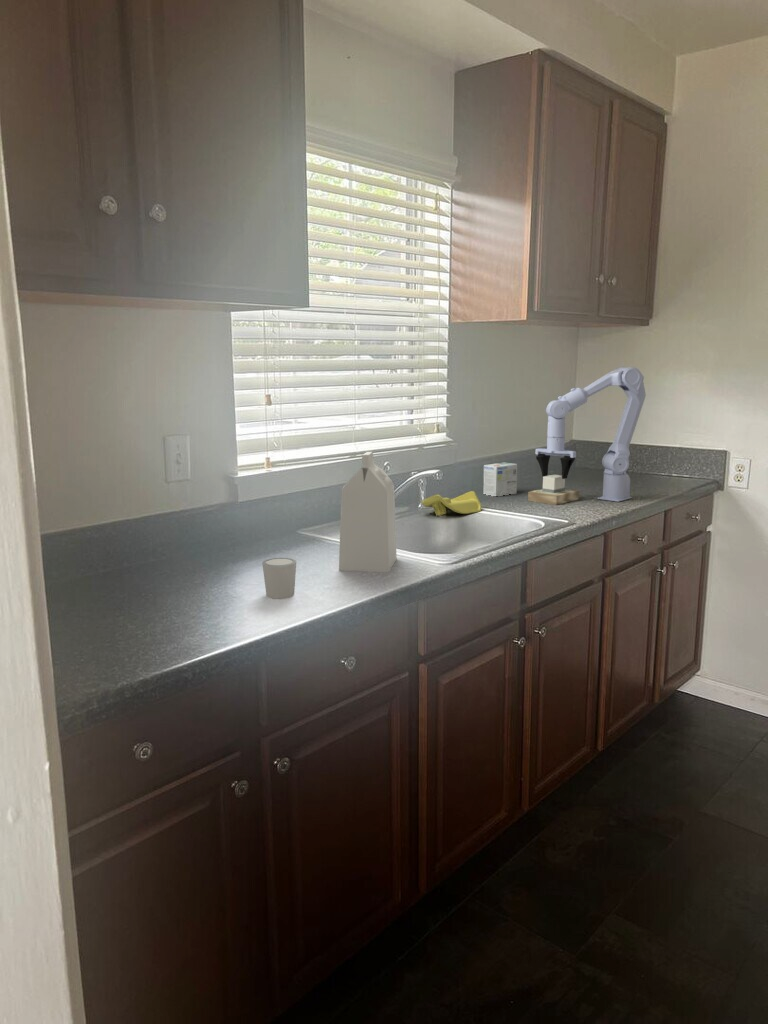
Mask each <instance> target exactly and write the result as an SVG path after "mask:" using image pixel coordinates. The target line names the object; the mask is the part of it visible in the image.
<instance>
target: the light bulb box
mask: <svg viewBox="0 0 768 1024" xmlns="http://www.w3.org/2000/svg"><path fill="white" fill-rule="evenodd" d="M517 485H518V464H517V463H511V462H505V461H504V462H498V463H491V464H489V463H488V464H484V465H483V488H482V490H483V494H486V495H485V496H488V495H491V496H490V497H493V496H498V497H504V496H503V495H505V496H509V494H511V495H516V494H517V491H518V490H517V489H518V487H517Z"/></svg>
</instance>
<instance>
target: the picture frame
mask: <svg viewBox="0 0 768 1024" xmlns="http://www.w3.org/2000/svg"><path fill="white" fill-rule="evenodd" d="M579 499H580V490H577V489H571V488H565V491H560V492H556V493H550V492H543V491H542V488H541V489H536V490H535V489H534V490H530V491H528V492H527V501H528V502H535V503H540V504H547V505H548V504H549V505H555V506H557V505H562V504H566V503H570V502H574V501H578V500H579Z"/></svg>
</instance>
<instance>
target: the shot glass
mask: <svg viewBox="0 0 768 1024" xmlns="http://www.w3.org/2000/svg"><path fill="white" fill-rule="evenodd" d="M261 564H262V571H263V579H264V585H265V593H266V597H267V598H269V599H272V600H283V599H290V598H292V597H294V596H295V588H296V574H297V572H296V571H297V570H296V569H297V560H296V559H293V558H289V557H275V558H268V559H265V560H263V561H262V563H261Z"/></svg>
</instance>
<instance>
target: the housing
mask: <svg viewBox="0 0 768 1024" xmlns="http://www.w3.org/2000/svg"><path fill="white" fill-rule="evenodd" d="M565 485H566V479H562V474H561V475H560V474H551V475H550V474H548V475H547V476H542V488H541V489H542V491H543V492H550V493H556V492H560V491H565V489H566V486H565Z"/></svg>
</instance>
